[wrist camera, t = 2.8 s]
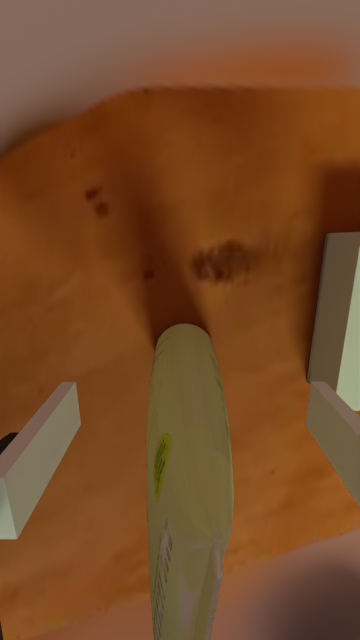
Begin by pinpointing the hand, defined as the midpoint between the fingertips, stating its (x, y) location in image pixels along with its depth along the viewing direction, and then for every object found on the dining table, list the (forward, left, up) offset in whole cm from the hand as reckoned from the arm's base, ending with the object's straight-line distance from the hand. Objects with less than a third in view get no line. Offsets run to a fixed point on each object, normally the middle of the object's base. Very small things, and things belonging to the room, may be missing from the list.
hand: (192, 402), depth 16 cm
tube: (0, 0, -9) cm, 9 cm away
